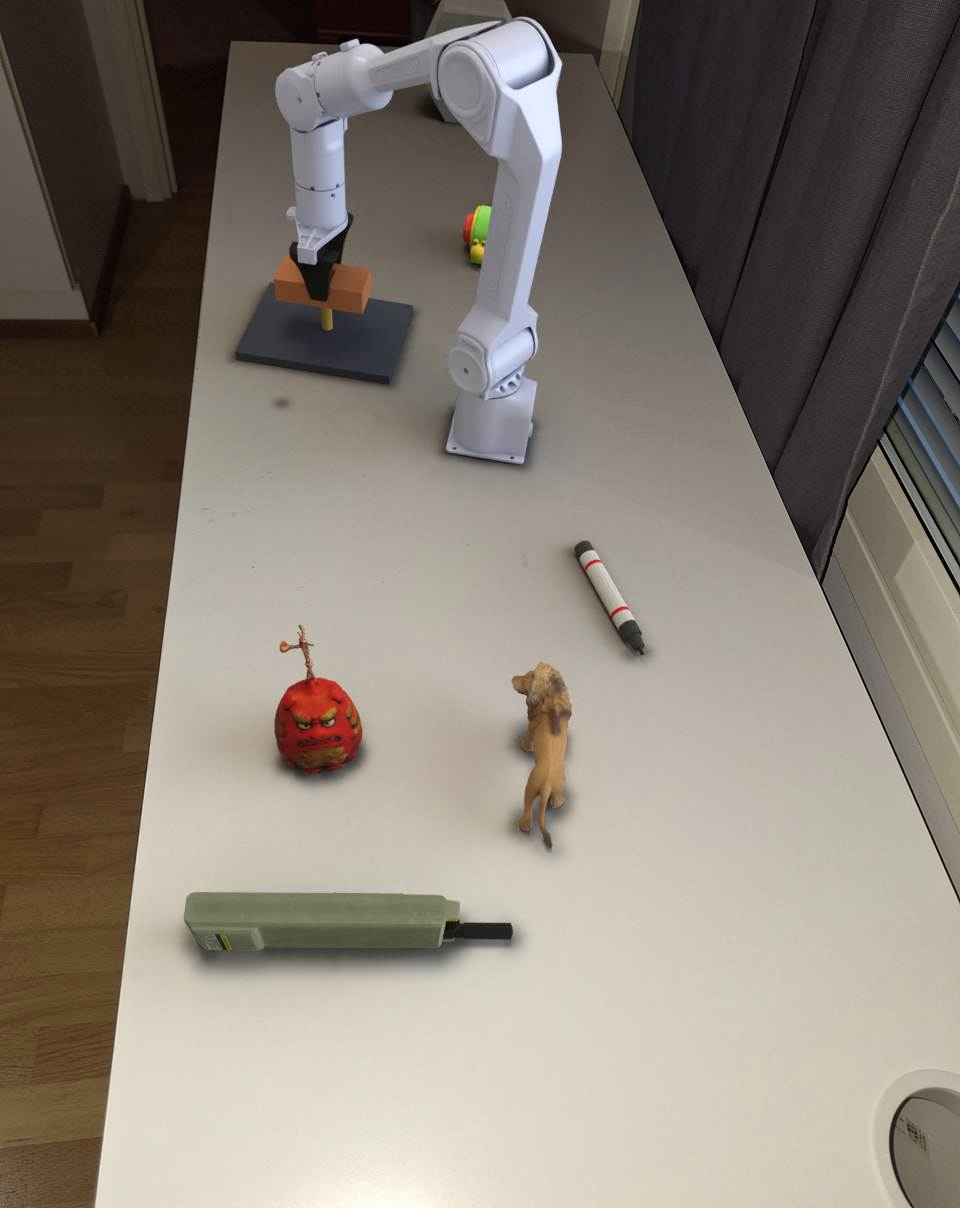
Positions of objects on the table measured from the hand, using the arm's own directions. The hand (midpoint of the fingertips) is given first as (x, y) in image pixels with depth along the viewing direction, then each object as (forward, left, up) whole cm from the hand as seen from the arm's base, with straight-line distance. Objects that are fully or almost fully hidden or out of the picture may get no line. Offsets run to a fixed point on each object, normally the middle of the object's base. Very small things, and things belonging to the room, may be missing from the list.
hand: (324, 285), depth 113 cm
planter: (-9, -71, -9) cm, 72 cm away
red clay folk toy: (-14, +59, -9) cm, 61 cm away
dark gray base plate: (0, -1, -8) cm, 9 cm away
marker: (-40, +37, -9) cm, 55 cm away
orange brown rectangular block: (0, 0, -1) cm, 1 cm away
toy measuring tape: (-18, -31, -9) cm, 37 cm away
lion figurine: (-34, +58, -9) cm, 67 cm away
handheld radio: (-21, +75, -9) cm, 78 cm away
